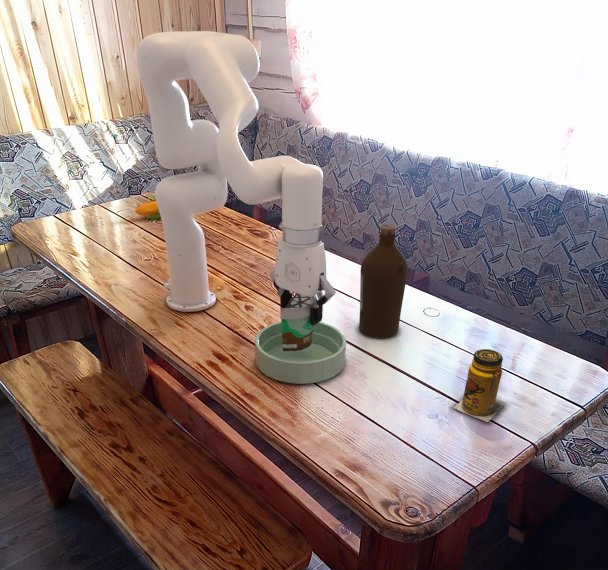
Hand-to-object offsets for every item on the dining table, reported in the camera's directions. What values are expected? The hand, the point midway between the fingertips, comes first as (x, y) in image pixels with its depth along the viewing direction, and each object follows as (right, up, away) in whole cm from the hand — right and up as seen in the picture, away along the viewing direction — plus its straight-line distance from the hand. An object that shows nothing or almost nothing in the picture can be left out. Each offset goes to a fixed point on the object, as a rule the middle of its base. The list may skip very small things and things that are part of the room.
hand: (301, 317), depth 123 cm
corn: (-50, +49, +89) cm, 114 cm away
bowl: (0, -9, +6) cm, 11 cm away
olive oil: (+19, 0, +19) cm, 27 cm away
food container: (0, -5, +3) cm, 6 cm away
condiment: (+35, -19, -7) cm, 41 cm away
